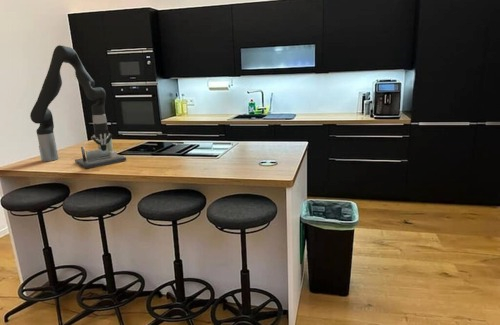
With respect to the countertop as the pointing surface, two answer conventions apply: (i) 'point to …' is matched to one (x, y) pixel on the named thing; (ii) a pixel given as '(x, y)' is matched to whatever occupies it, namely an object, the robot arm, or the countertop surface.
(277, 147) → the countertop surface
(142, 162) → the countertop surface
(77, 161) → the grey holder base
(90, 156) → the rack door
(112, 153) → the fader
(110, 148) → the can
